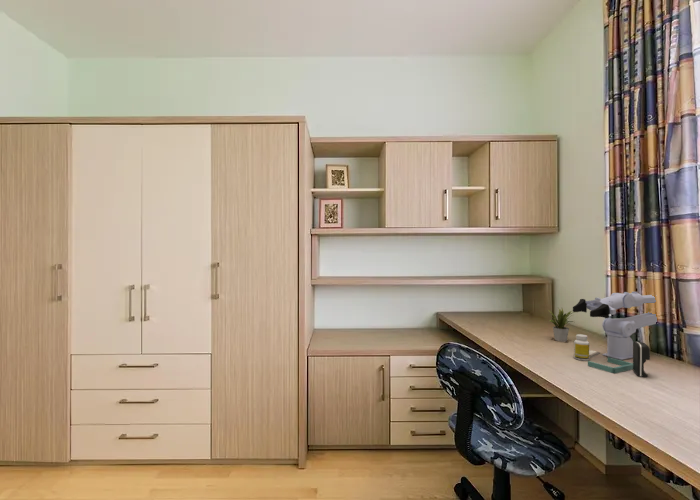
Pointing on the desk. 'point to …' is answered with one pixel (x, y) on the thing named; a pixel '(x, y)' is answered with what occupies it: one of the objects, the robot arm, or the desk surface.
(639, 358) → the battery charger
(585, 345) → the supplement bottle
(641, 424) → the desk surface
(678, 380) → the desk surface
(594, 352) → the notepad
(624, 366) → the bracket
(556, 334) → the house plant
